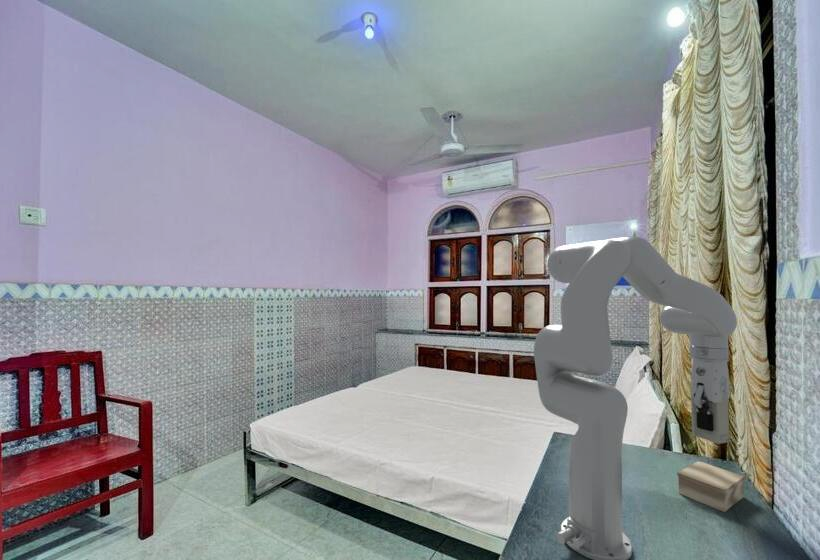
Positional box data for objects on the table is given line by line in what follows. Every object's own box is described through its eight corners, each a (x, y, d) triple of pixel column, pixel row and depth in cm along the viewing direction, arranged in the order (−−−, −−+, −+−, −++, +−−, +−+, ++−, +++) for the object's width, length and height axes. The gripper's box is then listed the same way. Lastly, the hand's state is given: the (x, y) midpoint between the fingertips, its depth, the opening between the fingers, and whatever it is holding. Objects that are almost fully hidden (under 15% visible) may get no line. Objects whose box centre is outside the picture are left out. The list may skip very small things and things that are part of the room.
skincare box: (730, 442, 88) (729, 391, 88) (718, 444, 86) (717, 393, 87) (701, 433, 94) (701, 385, 94) (690, 434, 92) (689, 386, 93)
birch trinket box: (725, 512, 82) (724, 490, 82) (677, 493, 90) (677, 472, 90) (745, 497, 89) (744, 476, 89) (698, 480, 97) (698, 460, 97)
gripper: (713, 359, 83) (714, 439, 82) (740, 353, 92) (742, 425, 91) (675, 354, 89) (676, 428, 89) (704, 349, 98) (706, 416, 98)
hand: (709, 426), depth 90 cm, fingers closed on skincare box, 5 cm apart
